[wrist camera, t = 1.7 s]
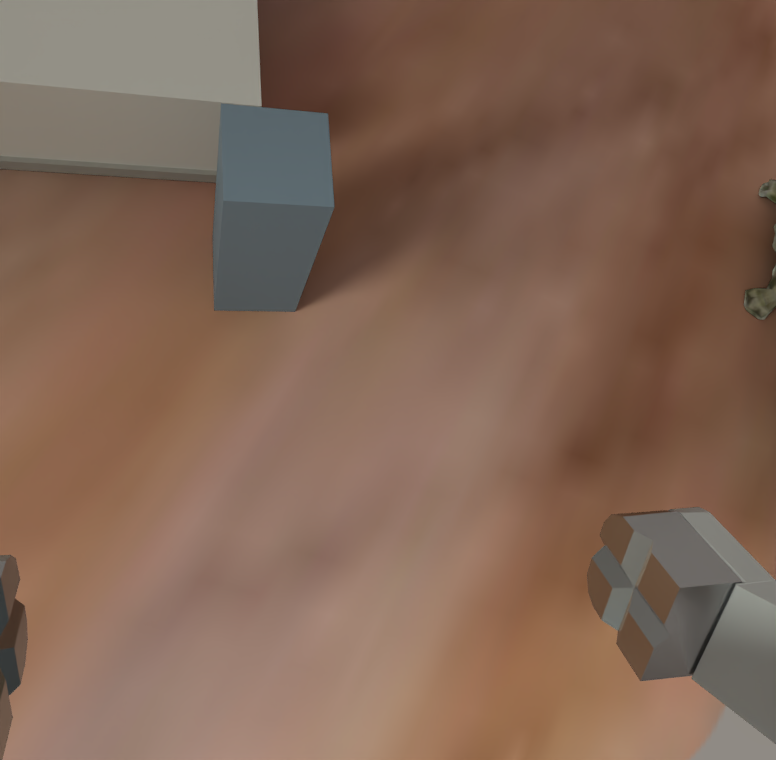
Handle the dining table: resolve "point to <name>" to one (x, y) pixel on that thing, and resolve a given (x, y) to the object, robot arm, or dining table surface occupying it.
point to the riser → (123, 84)
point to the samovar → (772, 296)
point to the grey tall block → (269, 205)
